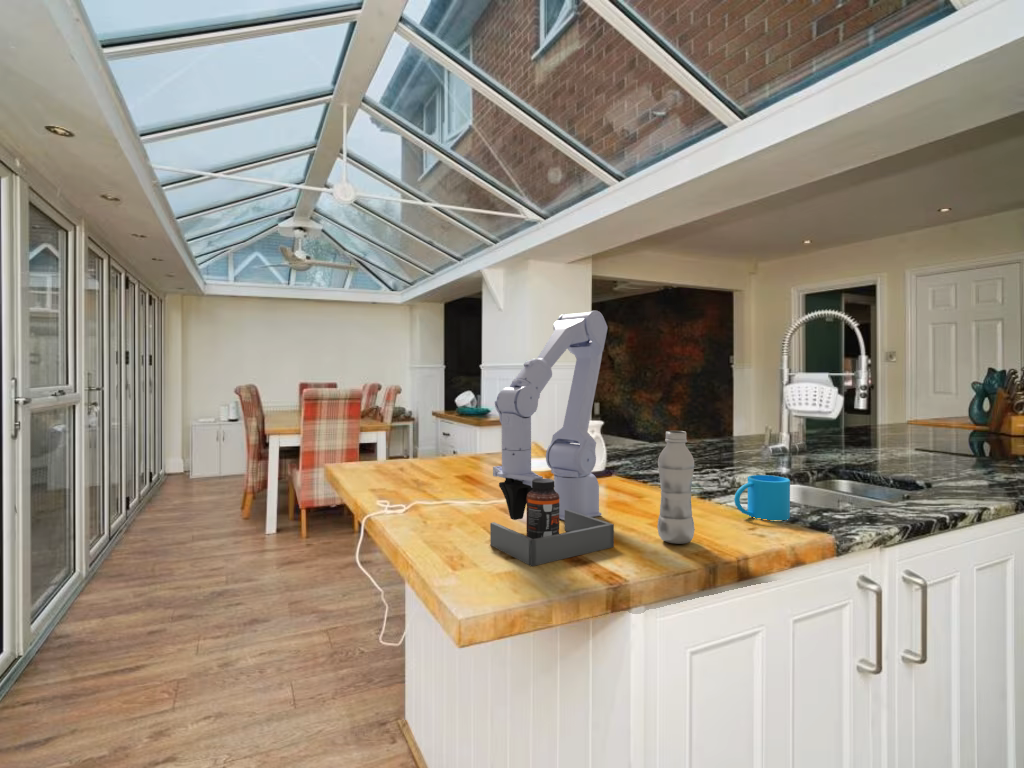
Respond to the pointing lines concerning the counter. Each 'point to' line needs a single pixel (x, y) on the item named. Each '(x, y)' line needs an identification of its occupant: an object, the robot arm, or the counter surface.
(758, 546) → the counter surface
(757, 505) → the mug
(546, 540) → the box
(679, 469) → the plastic bottle
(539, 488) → the supplement bottle
